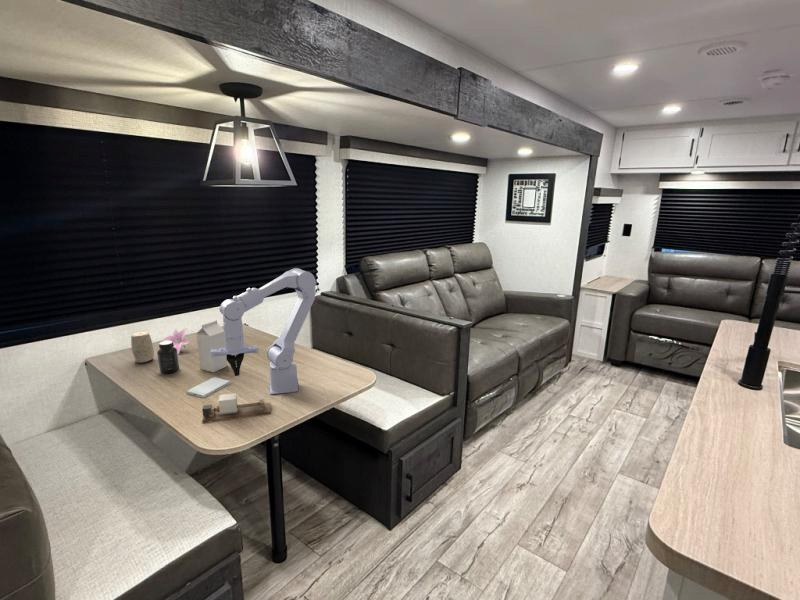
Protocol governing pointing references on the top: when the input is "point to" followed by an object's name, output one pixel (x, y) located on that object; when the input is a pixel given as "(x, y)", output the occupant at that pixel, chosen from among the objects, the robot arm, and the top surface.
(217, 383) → the hard drive
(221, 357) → the milk carton
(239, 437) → the top surface
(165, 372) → the supplement bottle
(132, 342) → the cream barrel-shaped cylinder
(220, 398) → the white rounded cube
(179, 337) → the lily
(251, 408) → the cord rail
